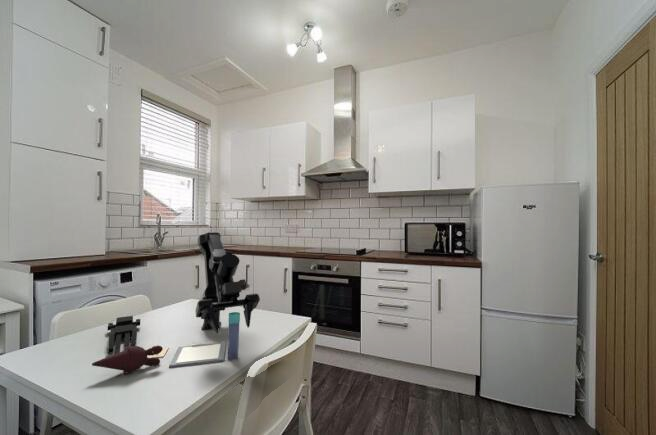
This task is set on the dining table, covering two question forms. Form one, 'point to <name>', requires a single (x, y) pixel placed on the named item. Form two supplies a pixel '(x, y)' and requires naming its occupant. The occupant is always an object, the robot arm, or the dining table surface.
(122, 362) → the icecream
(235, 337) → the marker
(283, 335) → the dining table surface
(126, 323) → the toy
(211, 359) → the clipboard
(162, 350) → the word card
